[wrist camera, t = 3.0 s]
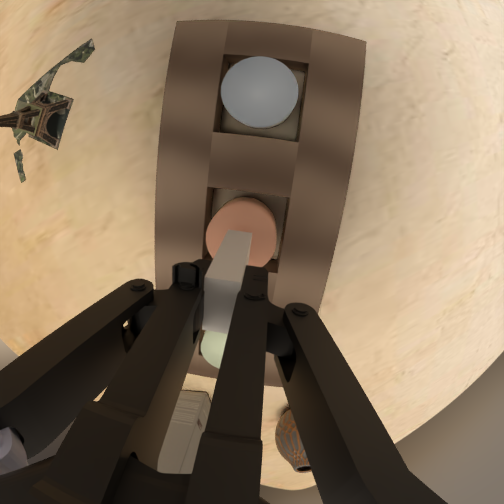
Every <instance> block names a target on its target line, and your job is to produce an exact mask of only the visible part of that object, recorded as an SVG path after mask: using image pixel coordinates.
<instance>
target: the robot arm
mask: <svg viewBox="0 0 504 504" xmlns="http://www.w3.org/2000/svg"><path fill="white" fill-rule="evenodd" d="M251 239H252V233H250V232H242V231H235V230H228V231H227V233H226V235H225V237H224V239H223V241H222V243H221V245H220V247H219V249H218V251H217V253H216V255H215V257H214V259H213V261H211V260H204V259H198V260H196V261H194V262H193V263H192V262H180V263H177V264H174V265H173V266H172V284H171V286H170V287H169V289H165V290H154V289H153V284H152V282H150V281H148V280H144V279H134V280H130V281H128V282H126V283H125V284H123V285H122V286H120V287H119V288H117V289H116V290H114V291H112V292H111V293H109V294H108V295H106V296H105V297H103V298H102V299H100V300H99V301H97V302H96V303H94V304H93V305H91V306H90V307H88V308H87V309H86V310H84V311H83V312H81V313H80V314H78V315H77V316H75V317H74V318H72V319H71V320H69V321H68V322H67V323H65V324H64V325H62V326H61V327H59V328H58V329H57V330H55V331H54V332H52V333H51V334H50V335H48V336H47V337H45V338H44V339H43V340H41V341H40V342H38V343H37V344H36V345H34V346H33V347H31V348H30V349H29V350H27V351H26V352H25V353H23V354H22V355H21V356H19V357H18V358H17V359H15V360H14V361H13V362H11V363H10V364H9V365H7V366H6V367H5V368H3V369H2V370H1V371H0V504H270V503H268V502H267V501H266V500H264V499H263V498H261V497H259V491H260V479H261V465H262V449H263V444H262V441H261V424H262V409H263V394H264V377H265V360H266V352H269V353H271V354H274V361H275V364H276V367H277V370H278V373H279V376H280V379H281V382H282V385H283V388H284V391H285V394H286V397H287V400H288V403H289V406H290V409H291V412H292V415H293V418H294V421H295V424H296V427H297V429H298V432H299V435H300V438H301V441H302V444H303V447H304V450H305V453H306V456H307V459H308V461H309V464H310V467H311V470H312V473H313V476H314V479H315V482H316V484H317V487H318V490H319V493H320V496H321V499H322V501H323V504H448V503H446V502H445V501H444V500H443V499H442V498H440V497H439V496H438V495H437V494H436V493H434V492H433V491H432V490H431V489H430V488H428V487H427V486H426V485H425V484H424V483H423V482H422V481H420V480H419V479H418V478H417V477H416V476H415V475H413V474H412V473H411V472H410V471H409V470H408V468H407V466H406V464H405V463H404V461H403V459H402V457H401V455H400V454H399V452H398V450H397V448H396V447H395V445H394V443H393V441H392V439H391V437H390V436H389V434H388V432H387V430H386V429H385V427H384V425H383V423H382V422H381V420H380V418H379V416H378V415H377V413H376V411H375V409H374V408H373V406H372V404H371V403H370V401H369V399H368V397H367V396H366V394H365V392H364V391H363V389H362V387H361V385H360V384H359V382H358V380H357V379H356V377H355V375H354V374H353V372H352V370H351V368H350V367H349V365H348V363H347V362H346V360H345V358H344V357H343V355H342V353H341V352H340V350H339V348H338V347H337V345H336V343H335V342H334V340H333V338H332V337H331V335H330V334H329V332H328V330H327V329H326V327H325V325H324V324H323V322H322V320H321V319H320V317H319V316H318V314H317V312H316V311H315V310H314V309H313V308H312V307H311V306H309V305H307V304H305V303H297V302H295V303H290V304H287V305H286V307H285V308H280V307H278V306H276V305H274V304H272V303H271V302H270V301H269V298H268V273H269V272H268V271H267V270H266V268H265V267H257V266H250V265H248V262H249V254H250V247H251ZM126 321H128V325H127V326H125V327H123V324H124V323H125V322H126ZM201 324H202V330H207V331H213V332H219V333H225V334H228V335H227V339H226V343H225V348H224V352H223V356H222V360H221V364H220V368H219V373H218V377H217V381H216V385H215V390H214V394H213V398H212V402H211V406H210V411H209V415H208V419H207V423H206V427H205V431H204V432H202V435H201V438H200V441H199V445H198V450H197V454H196V458H195V462H194V466H193V470H192V474H173V473H161V472H158V471H157V467H158V458H159V454H160V451H161V448H162V445H163V442H164V439H165V436H166V433H167V430H168V427H169V424H170V421H171V418H172V415H173V412H174V409H175V406H176V403H177V400H178V397H179V395H180V392H181V389H182V386H183V383H184V380H185V377H186V374H187V371H188V368H189V366H190V363H191V360H192V357H193V354H194V351H195V349H196V346H197V343H198V340H199V337H200V326H201ZM107 386H108V387H107ZM106 387H107V389H106V390H105V392H104V394H103V396H102V397H101V399H100V400H99V401H97V402H96V401H93V400H94V399H95V398H96V397H97V396H98V395H99V394H100V393H101V392H102V391H103V390H104V389H105V388H106ZM76 417H77V418H76ZM75 418H76V419H75ZM74 419H75V421H74V423H73V424H72V426H71V428H70V430H69V431H68V433H67V435H66V437H65V439H64V440H63V442H62V444H61V446H60V448H59V449H58V451H57V453H56V455H54V456H52V457H49V458H47V459H44V460H42V461H39V462H37V463H34V464H31V465H28V463H27V459H29V458H31V457H33V456H35V455H36V454H38V453H39V452H41V451H42V450H43V449H45V448H46V447H47V446H48V445H49V444H50V443H51V442H53V441H54V439H56V438H57V436H59V435H60V433H62V431H63V430H65V428H66V427H67V426H68V425H69V424H70V423H71V422H72V421H73V420H74Z"/></svg>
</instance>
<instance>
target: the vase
mask: <svg viewBox="0 0 504 504" xmlns="http://www.w3.org/2000/svg"><path fill="white" fill-rule="evenodd" d="M275 441H276V445H277V448H278V450H279V452H280V454H281V455H282V456H283V457H284V458H285V459H286V460H287V461H288V462H289V463H290V464H291V465H292V467H293V469H294V470H295V471H296V472H299V473H306V472H311V471H312V470H311V467H310V464H309V461H308V459H307V456H306V453H305V450H304V447H303V444H302V441H301V438H300V435H299V432H298V429H297V427H296V424H295V421H294V418H293V415H292V412H291V409H289V410H288V411H286V412H285V413H284V414H283V415H282V416H281V418H280V420H279V421H278V424H277V427H276V432H275Z"/></svg>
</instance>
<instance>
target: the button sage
mask: <svg viewBox="0 0 504 504" xmlns="http://www.w3.org/2000/svg"><path fill="white" fill-rule="evenodd" d="M227 335H228V334H225V333H219V332H213V331H207V330H206V331H205V334H204V337H203V340H202V343H201V352H202V355H203V357H204V358H205V359H206V361H207V362H209V363H210V364H211V365H213V366H214V367H216V368H220V364H221V360H222V356H223V352H224V348H225V343H226V339H227Z"/></svg>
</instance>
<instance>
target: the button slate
mask: <svg viewBox="0 0 504 504" xmlns="http://www.w3.org/2000/svg"><path fill="white" fill-rule="evenodd" d="M221 97H222V101H223V104H224V106H225V108H226V110H227V111H228V112H229V113H230V115H231V116H232V117H234V118H235V119H236V120H238V121H240V122H241V123H243V124H244V125H246V126H249V127H252V128H256V129H267V128H272V127H275V126H277V125H279V124H281V123H282V122H283V121H285V120H286V119H287V118H288V116H289V115H290V114H291V112H292V110H293V109H294V107H295V105H296V102H297V99H298V84H297V81H296V78H295V76H294V74H293V73H292V72H291V70H290V69H289V68H288V67H287V66H286V65H284V64H283V63H282V62H280V61H278V60H276V59H273V58H270V57H263V56H257V57H250V58H247V59H244V60H242V61H240V62H238V63H236V64H235V65H234V66H233V67H231V69H230V70H229V71H228V72H227V73H226V75H225V77H224V79H223V82H222V86H221Z"/></svg>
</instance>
